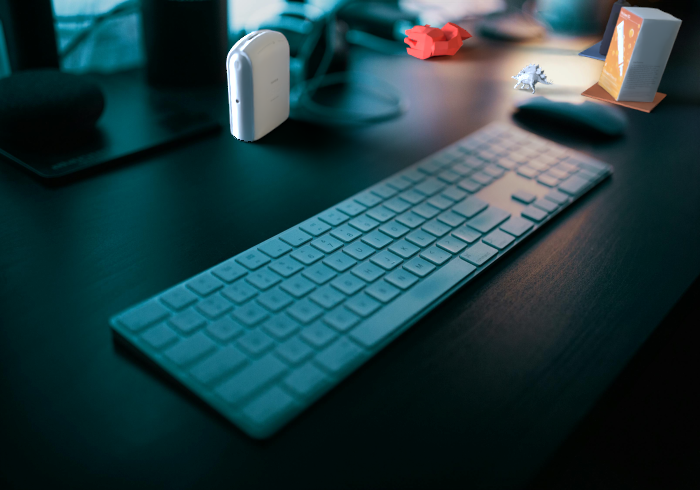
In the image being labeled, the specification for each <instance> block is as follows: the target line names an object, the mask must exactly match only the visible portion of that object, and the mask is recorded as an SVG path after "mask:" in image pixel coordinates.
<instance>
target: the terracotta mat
mask: <svg viewBox="0 0 700 490" xmlns="http://www.w3.org/2000/svg"><path fill="white" fill-rule="evenodd" d="M598 82H599V80H598V81H597V82H595V83H594V84H593V85H591V86H590V87H588V88H587V89H585V90H584V91H582V92H581V93H580V95H581V96H584V97H588V98H592V99H596V100H599V101H603V102H607V103H611V104H615V105H618V106H622V107H626V108H629V109H634V110H638V111H641V112H644V113H648V114H649V113H651V112H652V111H653V110H654V109H655V107H656V106H658V105H659V103H661V102H662V100H664V99H665V97H666V96H667V94H666V93H662V92H658V91H656V94H655V97H654V100H653V102H634V101H617V100H616V99H615V98H614V97H613V96H612V95H611V94H609V93H608V92H607V91H606V90H605V89H604V88H603V87H601V86H600V85H599V84H598Z"/></svg>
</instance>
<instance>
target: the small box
mask: <svg viewBox="0 0 700 490" xmlns="http://www.w3.org/2000/svg"><path fill="white" fill-rule="evenodd" d="M682 22H683V20H681V19H680V18H677V17H676V16H673V15H672V14H670V13H668V12H664V11H662V9H661V10H660V9H659V8H653V7H641V6H640V7H639V6H638V7H634V6H631V7H622V8H621V11H620V14H619V18H618V21H617V24H616V27H615V31H614V34H613V37H612V40H611V44H610V47H609V50H608V53H607V57H606V60H605V61H604V63H603V66H602V70H601V73H600V76H599V79H598V81H599V82H598V81H597V82H598V84H599V85H600V86H601V87H603V88H604V89H605V90H606V91H607V92H608V93H609V94H611V95H612V96H613V97H614V98H615V99H616V100H617V101H634V102H653V100H654V97H655V94H656V92H658V89H659V86H660V83H661V80H662V77H663V74H664V72H665V69H666V66H667V64H668V61H669V58H670V55H671V53H672V50H673V47H674V44H675V41H676V39H677V36H678V33H679V30H680V27H681V25H682Z"/></svg>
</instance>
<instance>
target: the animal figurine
mask: <svg viewBox="0 0 700 490" xmlns="http://www.w3.org/2000/svg"><path fill="white" fill-rule="evenodd" d="M404 32H405V35H406V36H407V37H405V38H404V43H405V44H407V45H409V47H406V51H407V54H408V55H410V56H413V57H415V58H417V59H420V60H426V59H429V58H432V57H434V56H455V55H456V54H457V53H458V51H459V50H460V49H461V47H462V46H463V45H464V42H463V41H467V40H468V39H470V38H473V35H472V34H471V33H470V32H468V31H467V29H465V28H463V27H462V26H460V25H458V24H456V23H454V22H450V21H448V22H447V23H446V24H445V25H443V26H442V27H441V28H440V27H434V26H432V25H431V24H427V23H426V24H425V25H422V24H421V25H414V26H413V27H411V28H409V29H405V30H404Z"/></svg>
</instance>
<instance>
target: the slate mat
mask: <svg viewBox="0 0 700 490" xmlns="http://www.w3.org/2000/svg"><path fill="white" fill-rule="evenodd" d="M601 42H602V40H600V41H598V42H597V43H595V44H593V45H591V46H590V47H588V48H586V49H583V50H582V51H580V52H578V56H581V57H587V58H591V59H595V60H599V61H603V62H605V60H606V57H607V56H604V55H601V54H599V50H600V46H601Z"/></svg>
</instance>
